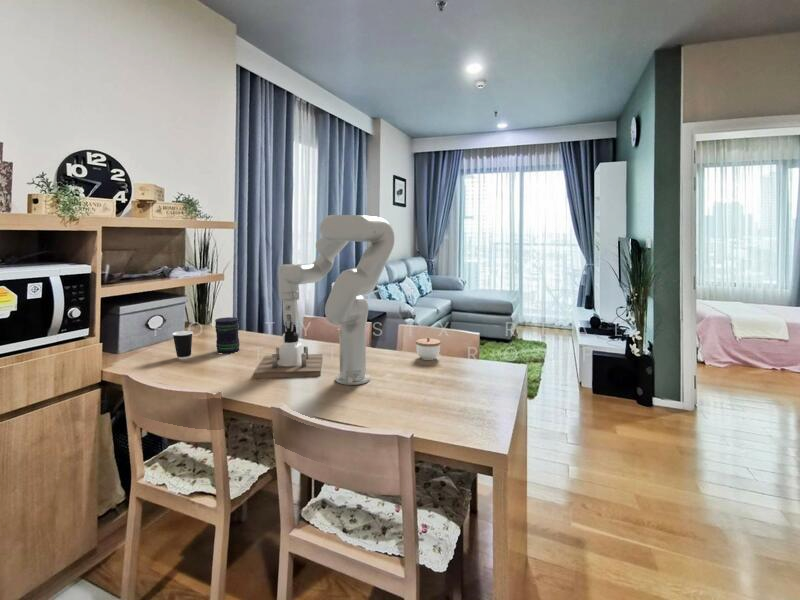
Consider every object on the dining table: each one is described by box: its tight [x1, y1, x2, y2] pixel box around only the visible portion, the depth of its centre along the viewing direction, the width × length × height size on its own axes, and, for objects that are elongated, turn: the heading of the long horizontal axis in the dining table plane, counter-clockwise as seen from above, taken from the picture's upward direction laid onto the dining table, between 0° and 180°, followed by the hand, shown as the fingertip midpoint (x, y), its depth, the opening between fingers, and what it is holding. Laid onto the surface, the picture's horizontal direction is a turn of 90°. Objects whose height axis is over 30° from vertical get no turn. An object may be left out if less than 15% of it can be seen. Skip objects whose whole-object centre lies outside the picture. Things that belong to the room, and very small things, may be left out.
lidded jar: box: [415, 336, 442, 361], centre depth 184 cm, size 11×11×9 cm
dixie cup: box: [172, 330, 194, 360], centre depth 181 cm, size 8×8×11 cm
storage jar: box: [214, 316, 240, 355], centre depth 192 cm, size 10×10×15 cm
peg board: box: [253, 345, 323, 379], centre depth 168 cm, size 24×24×7 cm
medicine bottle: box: [278, 332, 303, 365], centre depth 168 cm, size 7×7×12 cm
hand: (291, 338), depth 167 cm, fingers open, 9 cm apart
